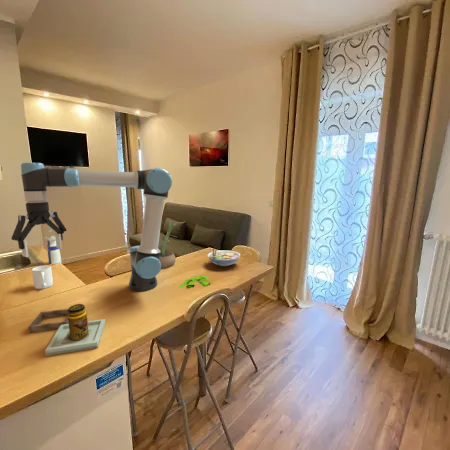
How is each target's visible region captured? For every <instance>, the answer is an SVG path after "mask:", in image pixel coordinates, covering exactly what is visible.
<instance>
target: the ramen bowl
mask: <svg viewBox="0 0 450 450" xmlns="http://www.w3.org/2000/svg"><path fill="white" fill-rule="evenodd" d="M207 257H208V258H209V261H211V262H212V264H214V265H217V266H220V267H229V266H232V265H234V264H236V263H237V262H238V260H239V259H240V257H241V254H240V252H238V251H233V250H229V249H227V250H217V248H213V251H211V252H209V253H207Z"/></svg>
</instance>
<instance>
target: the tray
mask: <svg viewBox="0 0 450 450" xmlns="http://www.w3.org/2000/svg"><path fill="white" fill-rule="evenodd" d="M87 321H88V330H90V329H92V331H91V333H90V335H89V337H88V339H87V341H81V342H70V343H62V341H63V340H64V338H65V337H66V335H67V334H68V332H69V324H63V325H61V326H60V327H59V329H57V330H56V332H55V334H54V335H53V337H52V338H51V340H50V342H49V343H48V345H47V347H46V348H45V350H44V351H45V352H44V353H45V356H46V357H48V356H49V357H51V356H55V355H60V354H61V355H62V354H68V353H73V352H74V353H76V352H80V351H87V350H92V349H98V348H99V345H100V343H101V339H102V336H103V332H104V330H105V327H106V319H105V318H104V319H103V318H102V319H94V320H87ZM61 343H62V344H61Z"/></svg>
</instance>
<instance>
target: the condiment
mask: <svg viewBox="0 0 450 450" xmlns="http://www.w3.org/2000/svg"><path fill="white" fill-rule="evenodd" d="M67 309H68V311H69V313H68V314H69V315H67V316H68V322H69V332H68V334H67V335H66V337H65V338H64V340H63V341H62V343H70V342H81V341H87V339H88V337H89V335H90V333H91V331H92V329H90V330H88V321H89V320H88V314H87V311H86V307H85V304H82V303H77V304H73V305H70V307H68V308H67ZM62 343H61V344H62Z"/></svg>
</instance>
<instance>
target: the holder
mask: <svg viewBox="0 0 450 450" xmlns="http://www.w3.org/2000/svg"><path fill="white" fill-rule="evenodd" d="M68 309H69V308H62V309H55V310H47V311H41V312H40V313H39V314H38V315H37V316H36V317H35V318H34V320H33V321H32V322H31V323H30V324H29V326H28V327H27V328H28V334H32V333H39V332H46V331H54V330H58V329H59V327H60V326H61V325H63V324H69V322H68V315H69V314H68V313H69V311H68ZM63 316H66V318H65V319H64V320H61V321H56V322H48V323H41V322H42V321H43V319H47V318H55V317H63ZM40 323H41V324H40Z"/></svg>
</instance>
